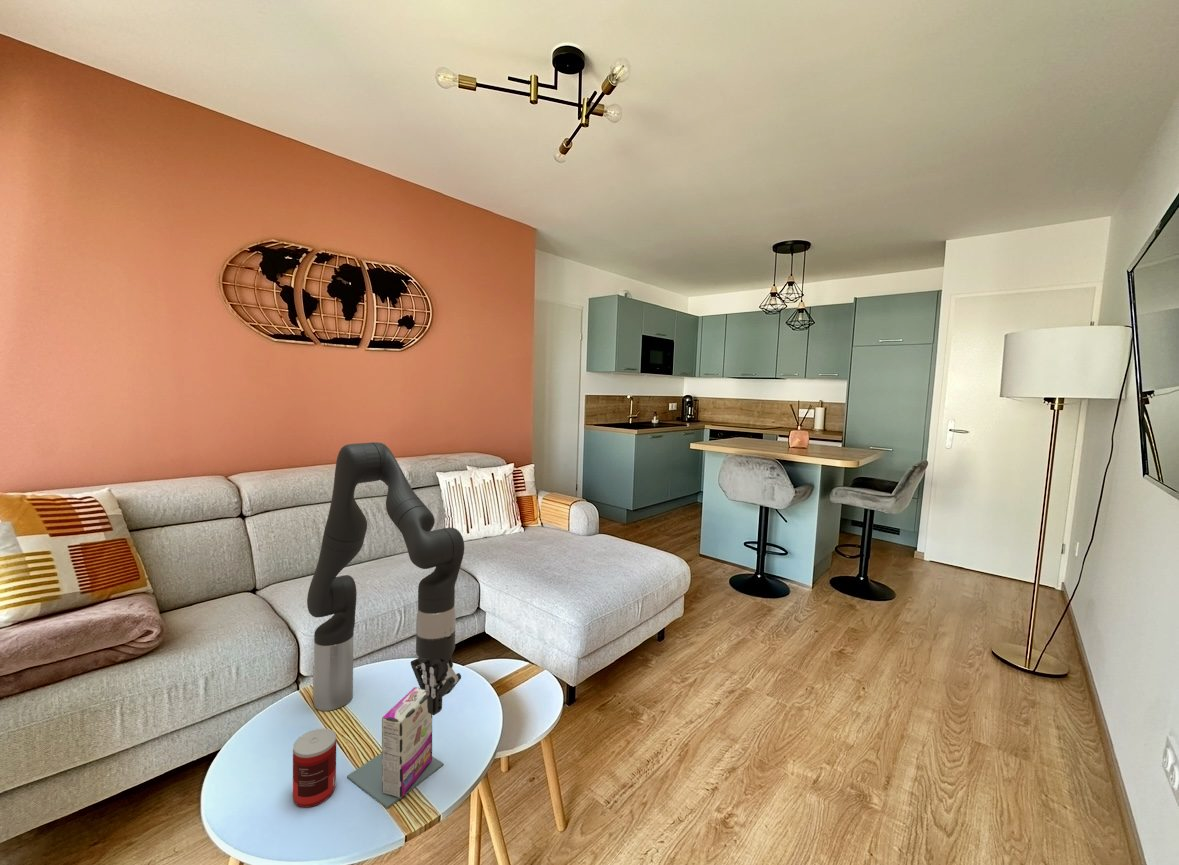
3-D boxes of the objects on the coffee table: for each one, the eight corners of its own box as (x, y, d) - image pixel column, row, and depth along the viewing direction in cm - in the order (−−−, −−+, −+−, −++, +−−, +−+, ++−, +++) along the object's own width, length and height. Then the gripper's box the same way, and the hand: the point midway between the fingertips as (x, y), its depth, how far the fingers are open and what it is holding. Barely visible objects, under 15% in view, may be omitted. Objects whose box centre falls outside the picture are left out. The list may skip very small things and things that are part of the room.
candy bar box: (413, 756, 107) (414, 685, 106) (432, 761, 106) (434, 689, 105) (379, 794, 96) (380, 716, 95) (400, 800, 95) (402, 721, 94)
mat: (346, 777, 101) (346, 775, 101) (403, 740, 113) (403, 738, 113) (387, 808, 93) (387, 806, 93) (443, 765, 105) (443, 763, 105)
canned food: (322, 772, 102) (322, 723, 101) (344, 788, 98) (344, 737, 97) (284, 796, 95) (284, 744, 95) (306, 815, 91) (306, 760, 91)
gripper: (398, 626, 95) (397, 710, 96) (443, 645, 88) (442, 735, 89) (429, 613, 102) (428, 692, 102) (473, 630, 95) (471, 714, 95)
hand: (434, 712), depth 96 cm, fingers closed
